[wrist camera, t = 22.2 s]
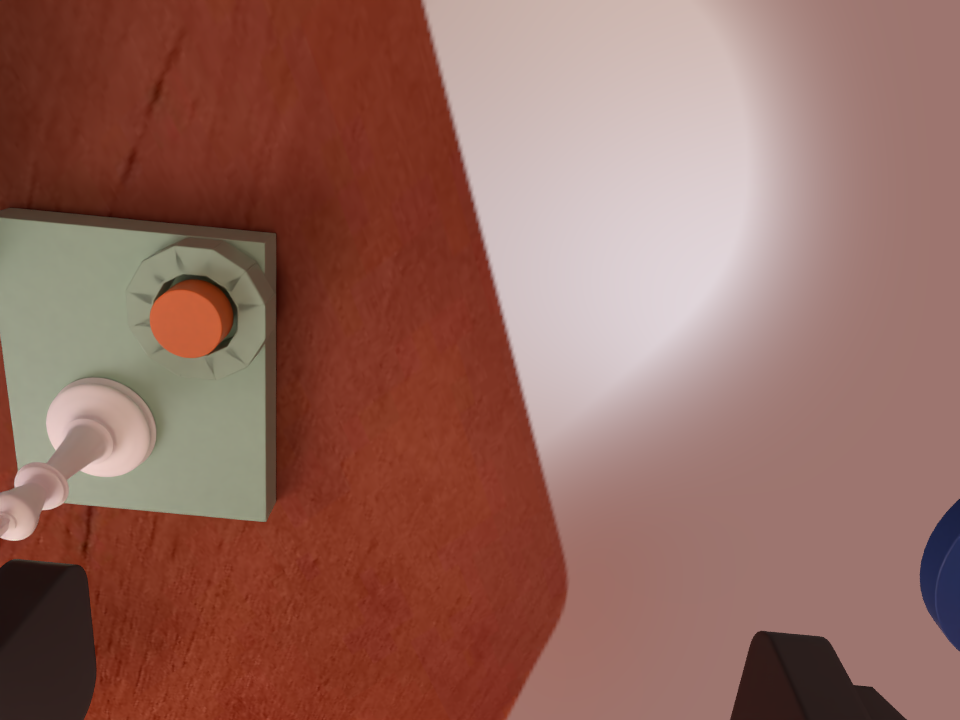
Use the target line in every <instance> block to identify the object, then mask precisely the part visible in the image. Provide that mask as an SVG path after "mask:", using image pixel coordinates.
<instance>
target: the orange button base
mask: <svg viewBox="0 0 960 720" xmlns="http://www.w3.org/2000/svg"><path fill="white" fill-rule="evenodd" d="M190 279H198V280H203V281H207V282H209V283H211V284H213V285H215V286H216V287H218V288H219V289H220V290H221V291H222V292H223V293H224V294H225V295H226V297H227V298H228V300H229V301H230V303H231V306H232V310H233V325H232V328H231V330H230V332H229V334H228V335H227V336H226V337H225V338H224V339H223V341H222V342H221V343H220V344H219V345H218V346H217V347H216V348H215V349H214V350H213V351H212V352H210V353H209V354H207V355H205V356H202V357H198V358H184V357H180V356H177V355H174V354H172V353H170V352H169V351H167V350H166V349H165V348H163V347H162V346H161V345H160V344H159V343H158V341H157V340H156V338H155V337H154V335H153V333H152V330H151V326H150V311H151V308H152V306H153V304H154V302H155V301H156V300H157V298H158V297H160V296H161V295H162V294H163V293H165V292H166V291H167V290H169V289H170V288H171V287H173V286H174V285H176V284H177V283H179V282H181V281H184V280H190ZM0 336H1V343H2V351H3V358H4V366H5V374H6V381H7V389H8V397H9V404H10V412H11V419H12V427H13V435H14V442H15V450H16V458H17V465H18V471H19V470H20V469H21V468H22V467H23V466H24V465H26V464H29V463H32V462H42V463H47V462H48V461H49V459H50V458H51V457H52V455H53V454H54V453H55V451H56V450H55V449H54V447H53V446H52V444H51V442H50V439H49V437H48V433H47V428H46V417H47V412H48V409H49V407H50V405H51V403H52V401H53V400H54V399H55V397H56V396H57V395H58V393H59V392H60V391H61V390H62V389H63V388H64V387H66V386H67V385H68V384H70V383H72V382H74V381H77V380H80V379H84V378H93V377H96V378H105V379H110V380H113V381H116V382H118V383H121V384H123V385H125V386H126V387H128V388H130V389H131V390H133V391H134V392H135V393H136V394H137V395H139V396H140V397H141V398H142V400H143V401H144V402H145V403H146V405H147V406H148V408H149V409H150V411H151V413H152V415H153V418H154V421H155V425H156V442H155V446H154V448H153V451H152V452H151V454H150V456H149V457H148V458H147V459H146V460H145V461H144V462H143V463H142V464H140V465H139V466H138V467H136V468H135V469H134V470H132V471H130V472H128V473H126V474H123V475H120V476H115V477H99V476H93V475H90V474H87V473H84V472H82V471H78V472H77V473H76V474H74V475H73V476H71V477H70V478H69V479H68V480H67V482H68V486H69V494H68V497H67V499H66V500H65V502H64V503H70V504H80V505H91V506H102V507H112V508H123V509H133V510H144V511H154V512H165V513H176V514H186V515H197V516H207V517H218V518H229V519H239V520H250V521H260V522H266V521H267V519H268V517H269V515H270V513H271V511H272V509H273V507H274V505H275V503H276V234H275V233H267V232H256V231H246V230H236V229H226V228H215V227H205V226H195V225H184V224H174V223H164V222H153V221H143V220H133V219H123V218H112V217H102V216H92V215H81V214H71V213H61V212H50V211H40V210H30V209H20V208H7V209H4V210H1V211H0Z"/></svg>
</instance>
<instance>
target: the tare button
mask: <svg viewBox="0 0 960 720" xmlns="http://www.w3.org/2000/svg"><path fill="white" fill-rule="evenodd" d="M232 325H233V310H232V306H231V303H230V301H229V300H228V298H227V297H226V295H225V294H224V293H223V292H222V291H221V290H220V289H219V288H218V287H216V286H215V285H213V284H211V283H209V282H207V281H203V280H198V279H190V280H184V281H181V282H179V283H177V284H176V285H174V286H173V287H171V288H170V289H169V290H167V291H166V292H165V293H163V294H162V295H161V296H160V297H158V298H157V300H156V301H155V302H154V304H153V306H152V308H151V311H150V326H151V330H152V333H153V335H154V337H155V338H156V340H157V341H158V343H159V344H160V345H161V346H162V347H163V348H165V349H166V350H167V351H169V352H170V353H172V354H174V355H177V356H180V357H184V358H198V357H202V356H205V355H207V354H209V353H210V352H212V351H213V350H214V349H215V348H216V347H217V346H218V345H219V344H220V343H221V342H222V341H223V339H224V338H225V337H226V336H227V335H228V334H229V332H230V330H231V328H232Z"/></svg>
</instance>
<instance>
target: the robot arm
mask: <svg viewBox="0 0 960 720" xmlns="http://www.w3.org/2000/svg"><path fill="white" fill-rule="evenodd" d="M95 681H96V657H95V647H94V637H93V627H92V618H91V608H90V598H89V588H88V580H87V575H86V572H85V571H84V569H83V568H82V567H81V566H79V565H74V564H63V563H53V562H42V561H32V560H21V559H14V560H11V561H9V562H7V563H5V564H4V565H3V566H2V567H1V568H0V720H84V718H85V715H86V713H87V711H88V708H89V706H90V703H91V699H92V696H93V692H94V687H95ZM730 720H906V719H905V718H904V717H903V716H902V715H901V714H900V713H899V712H898V711H897V710H896V709H895V708H894V707H893V706H892V705H890V704H889V703H888V702H887V701H886V700H885V699H884V698H883V697H882V696H881V695H880V694H879V693H878V692H877V691H876V690H875V689H874V688H873V687H867V686H856V685H853V684H852V682H851V680H850V678H849V676H848V674H847V673H846V671H845V669H844V667H843V665H842V663H841V662H840V660H839V658H838V656H837V654H836V652H835V650H834V649H833V647H832V645H831V644H830V642H829V641H828V640H827V639H825V638H824V637H820V636H809V635H798V634H787V633H777V632H767V631H760V632H757V633H756V634H755V636H754V637H753V639H752V641H751V644H750V647H749V651H748V655H747V659H746V662H745V666H744V670H743V674H742V678H741V681H740V685H739V689H738V693H737V696H736V700H735V704H734V708H733V711H732V715H731V719H730Z"/></svg>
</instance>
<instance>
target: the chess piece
mask: <svg viewBox="0 0 960 720" xmlns="http://www.w3.org/2000/svg"><path fill="white" fill-rule="evenodd" d="M46 428H47V433H48V437H49V439H50V442H51V444H52V446H53V447H54V449H55V450H56V451H55V453H54V454H53V455H52V457H51V458H50V459H49V461H48V462H47V463H42V462H32V463H29V464H26V465H24V466H23V467H22V468H21V469H20V470H19V471H18V473H17V475H16V477H15V481H14V486H15V488H14V489H12V490H9V491H4V492H1V493H0V538H2V539H6V540H12V541H16V540H22V539H25V538H27V537H28V536H30V535H31V534H32V533H33V531H34V530H35V528H36V526H37V524H38V521H39V516H40V513H41V511H42V510H49V509H53V508H55V507H58V506H60V505H61V504H63V503H64V502H65V500H66V499H67V497H68V494H69V486H68V482H67V480H68V479H69V478H70V477H71V476H73V475H74V474H76V473H77V472H78V471H82V472H84V473H87V474H90V475H93V476H99V477H115V476H120V475H123V474H126V473H128V472H130V471H132V470H134V469H135V468H136V467H138V466H139V465H140V464H142V463H143V462H144V461H145V460H146V459H147V458H148V457H149V456H150V454H151V452H152V451H153V448H154V446H155V442H156V425H155V421H154V418H153V415H152V413H151V411H150V409H149V408H148V406H147V405H146V403H145V402H144V401H143V400H142V398H141V397H140V396H139V395H137V394H136V393H135V392H134V391H133V390H131V389H130V388H128V387H126V386H125V385H123V384H121V383H118V382H116V381H113V380H110V379H105V378H96V377H93V378H84V379H80V380H77V381H74V382H72V383H70V384H68V385H67V386H66V387H64V388H63V389H62V390H61V391H60V392H59V393H58V395H57V396H56V397H55V399H54V400H53V401H52V403H51V405H50V407H49V409H48V412H47V417H46Z"/></svg>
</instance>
